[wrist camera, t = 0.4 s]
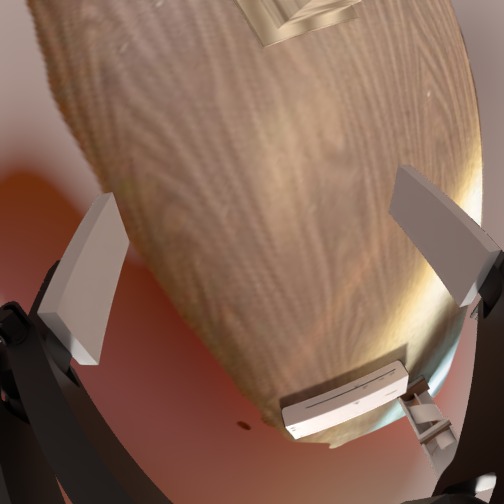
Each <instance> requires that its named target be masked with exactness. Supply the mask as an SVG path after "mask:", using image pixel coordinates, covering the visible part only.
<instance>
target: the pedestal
mask: <svg viewBox="0 0 504 504" xmlns="http://www.w3.org/2000/svg"><path fill="white" fill-rule="evenodd" d="M359 1H361V0H234V2H235V4H236V5H237V7H238V8H239V10H240V12H241V13H242V15H243V16H244V18H245V20H246V21H247V23H248V25H249V26H250V28H251V30H252V32H253V33H254V35H255V37H256V38H257V40H258V42H259V44H260V46H261V47H262V49H263V48H265V47H268V46H270V45H273V44H276V43H278V42H281V41H284V40H287V39H289V38H292V37H295V36H298V35H301V34H304V33H308V32H311V31H314V30H318V29H321V28H324V27H328V26H332V25H336V24H339V23H343V22H348V21H352V20H355V19H358V18H359V17H358V15H357V13H356V11H355V10H354V8H353V6H352V5H353V4H355V3H357V2H359Z"/></svg>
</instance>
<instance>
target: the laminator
mask: <svg viewBox="0 0 504 504" xmlns="http://www.w3.org/2000/svg"><path fill="white" fill-rule="evenodd" d="M408 380H409V373H408V371H407V370H406V368H405V366H404V365H403V363H402V362H401V361H400V360H396V361H394V362H392V363H390V364H388V365H386V366H384V367H382V368H380V369H378V370H376V371H374V372H372V373H370V374H368V375H366V376H364V377H361V378H359V379H357V380H355V381H352V382H350V383H348V384H346V385H343V386H341V387H338V388H336V389H334V390H331V391H329V392H326V393H324V394H321V395H318V396H316V397H313V398H311V399H308V400H305V401H302V402H300V403H297V404H294V405H291V406H288V407H285V408H282V410H281V415H282V419H283V423H284V427H285V428H286V430H287V431H288V432H289V433H290V434H291V435H292V437H293V438H294V439H298V438H301V437H304V436H307V435H310V434H313V433H315V432H318V431H321V430H324V429H326V428H329V427H332V426H334V425H337V424H339V423H342V422H344V421H347V420H349V419H352V418H354V417H356V416H359V415H361V414H363V413H365V412H368V411H370V410H372V409H374V408H376V407H378V406H380V405H382V404H384V403H387V402H389V401H391V400H393V399H394V398H396V397H398V396H400V395H402V394H404V393H406V392H407V386H408Z"/></svg>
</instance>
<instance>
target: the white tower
mask: <svg viewBox="0 0 504 504" xmlns="http://www.w3.org/2000/svg"><path fill="white" fill-rule="evenodd" d="M429 389H430V388H429V386H428V384H427V382H426V380H425V378H424V377H423V375H422V376H420V377H419V378H417V379H416V380H415V381H413V382H412V383H410V384H409V385H408V386H407V392H406V393H404V394H402V395H400V396H398V397H397V398H398V400H399V402H400V404H401V406H402V408H403V410H404V412H405V414H406V416H407V418H408V419H409V421H410V423H411V425H412V427H413V429H414V431H415V433H416V435H417V437H418V439H419V441H420V444H421V446H422V448H423V450H424V452H425V454H426V456H427V458H428V460H429V462H430V465H431V467H432V469H433V471H434V473H435V475H436V478H437V480H439V478H440V476H441V474H442V473H443V471H444V470H445V469H446V467H447V466H448V465H449V464H450V463H451V461H452V460H453V458H454V455H455V452H456V449H457V446H458V442H459V437H458V435H457V433H456V432H455V430H454V428H453V426H452V424H451V423H450V421H449V419H448V417H446V418H444V417H443V415H442V413H441V411H440V410H439V408H438V407H437V406H436V405H435V403H434V401H433V400H432V398H431V396H430V394H429V393H428V391H427V390H429Z"/></svg>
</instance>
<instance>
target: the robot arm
mask: <svg viewBox="0 0 504 504" xmlns="http://www.w3.org/2000/svg"><path fill="white" fill-rule="evenodd" d="M389 214H390V215H391V216H392V217H393V218H394V220H395V221H396V222H397V223H398V224H399V226H400V227H401V228H402V229H403V230H404V232H405V233H406V234H407V235H408V237H409V238H410V239H411V240H412V242H413V243H414V244H415V246H416V247H417V248H418V249H419V251H420V252H421V253H422V255H423V256H424V257H425V259H426V260H427V261H428V263H429V264H430V265H431V267H432V268H433V269H434V271H435V272H436V274H437V275H438V276H439V278H440V279H441V281H442V282H443V284H444V285H445V286H446V288H447V289H448V291H449V292H450V294H451V295H452V297H453V298H454V300H455V301H456V303H457V305H458V306H459V308H460V307H462V306H465V305H468V304H471V303H472V301H473V300H474V298H475V297H476V295H477V293H478V292H479V294H480V295H481V297H482V298H481V300H480V301H479V303H478V304H477V306H476V308H475V309H474V310H473V312H472V313H471V316H470V318H472V317H473V316H474V315H475V313H478V315H477V317H476V318H475V320H477V321H478V325H477V341H476V352H475V362H474V370H473V377H472V384H471V390H470V395H469V400H468V406H467V410H466V415H465V419H464V424H463V428H462V431H461V435H460V439H459V442H458V446H457V449H456V452H455V455H454V458H453V460H452V461H451V463H450V464H449V465H448V466H447V467H446V469H445V470H444V471H443V473H442V474H441V476H440V478H439V480H438V482H437V485H436V487H435V490H434V492H433V494H432V496H431V497H429V498H424V499H418V500H412V501H406V502H403V503H401V504H504V252H503V251H502V250H501V249H500V248H499V246H498V245H497V244H496V243H495V242H494V241H493V240H492V239H491V238H490V237H489V236H488V234H486V233H485V231H484V230H483V229H482V228H480V226H479V225H478V224H477V223H476V222H475V221H474V220H473V219H472V218H470V217H469V216H468V215H467V214H466V213H465V212H464V211H463V210H462V209H461V208H460V207H459V206H458V205H457V204H456V203H455V202H454V201H453V200H452V199H450V198H449V197H448V196H447V195H446V194H445V193H444V192H443V191H441V190H440V189H439V188H438V187H437V186H436V185H434V184H433V183H432V182H431V181H430V180H429V179H427V178H426V177H425V176H424V175H422V174H421V173H420V172H419V171H418V170H416V169H415V168H414V167H412V166H411V165H398V169H397V174H396V180H395V185H394V190H393V195H392V199H391V204H390V209H389ZM128 245H129V239H128V237H127V234H126V231H125V228H124V225H123V223H122V220H121V217H120V214H119V211H118V208H117V205H116V202H115V198H114V195H113V192H111V193H107V194H102V195H98V196H97V197H96V199H95V200H94V202H93V204H92V205H91V207H90V209H89V210H88V212H87V213H86V215H85V217H84V219H83V220H82V222H81V224H80V225H79V227H78V229H77V231H76V232H75V234H74V236H73V238H72V240H71V242H70V244H69V245H68V247H67V249H66V251H65V253H64V255H63V257H62V259H61V260H58V261H56V263H55V264H54V265H53V266H52V267H51V268H50V269H49V271H48V273H47V275H46V277H45V279H44V283H42V285H41V287H40V291H39V292H38V294H37V296H36V298H35V301H34V303H33V305H32V307H31V310H30V312H29V315H28V316H27V314H26V313H25V312H24V310H23V309H22V308H21V306H20V305H19V304H18V303H17V302H15V301H12V302H8V303H6V304H5V305H3V306H1V307H0V340H1V341H2V342H0V504H66V503H65V501H64V498H63V496H62V493H61V490H60V488H59V485H58V482H57V480H56V477H57V479H58V481H59V482H60V484H61V486H62V488H63V489H64V491H65V492H66V494H67V496H68V497H69V499H70V500H71V502H72V503H73V504H173V503H172V502H171V501H170V500H169V499H168V498H167V497H166V496H165V495H164V494H163V493H162V492H161V490H160V489H159V488H158V487H157V486H156V485H155V484H154V483H153V482H152V481H151V479H150V478H149V477H148V476H147V475H146V474H145V473H144V472H143V470H142V469H141V468H140V467H139V466H138V464H137V463H136V462H135V461H134V459H133V458H132V457H131V456H130V454H129V453H128V452H127V450H126V449H125V448H124V446H123V445H122V444H121V443H120V441H119V440H118V438H117V437H116V436H115V434H114V433H113V431H112V430H111V429H110V427H109V426H108V424H107V423H106V421H105V420H104V418H103V417H102V415H101V414H100V412H99V411H98V409H97V408H96V406H95V405H94V403H93V401H92V399H91V398H90V396H89V395H88V393H87V391H86V390H85V388H84V386H83V384H82V383H81V381H80V379H79V377H78V375H77V374H76V372H75V370H74V369H73V368H72V366H71V365H70V361H71V357H72V356H73V357H74V358H75V359H76V360H77V362H78V363H79V364H82V365H98V364H99V359H100V354H101V349H102V344H103V339H104V334H105V330H106V325H107V321H108V317H109V313H110V309H111V304H112V300H113V296H114V293H115V289H116V286H117V282H118V278H119V275H120V272H121V268H122V265H123V261H124V258H125V255H126V252H127V248H128ZM1 392H2V393H3V394H4V395H5V401H3V400H2V398H1ZM55 475H56V476H55ZM490 488H494V489H493V493H492V496H491V498H490V501H489V503H487V502H484V501H482V500H481V499H479V498H476V497H474V496H475V495H476V494H477V493H479V492H480V491H484V490H487V489H490Z"/></svg>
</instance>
